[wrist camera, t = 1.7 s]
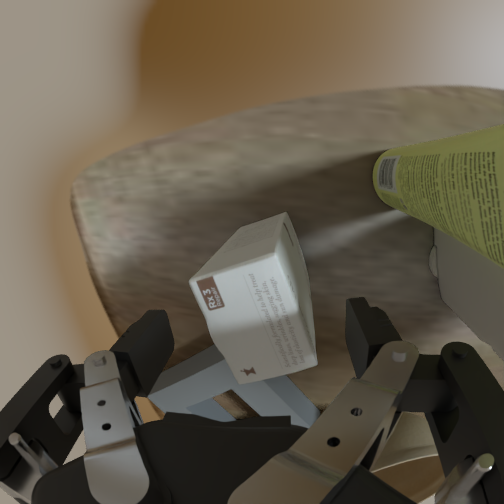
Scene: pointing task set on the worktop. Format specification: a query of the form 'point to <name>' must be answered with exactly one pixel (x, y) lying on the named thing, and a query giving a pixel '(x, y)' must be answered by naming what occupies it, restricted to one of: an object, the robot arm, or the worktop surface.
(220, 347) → the skincare box
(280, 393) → the socket frame
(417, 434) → the planter bowl
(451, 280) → the tall pale column
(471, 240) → the tube
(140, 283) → the worktop surface
